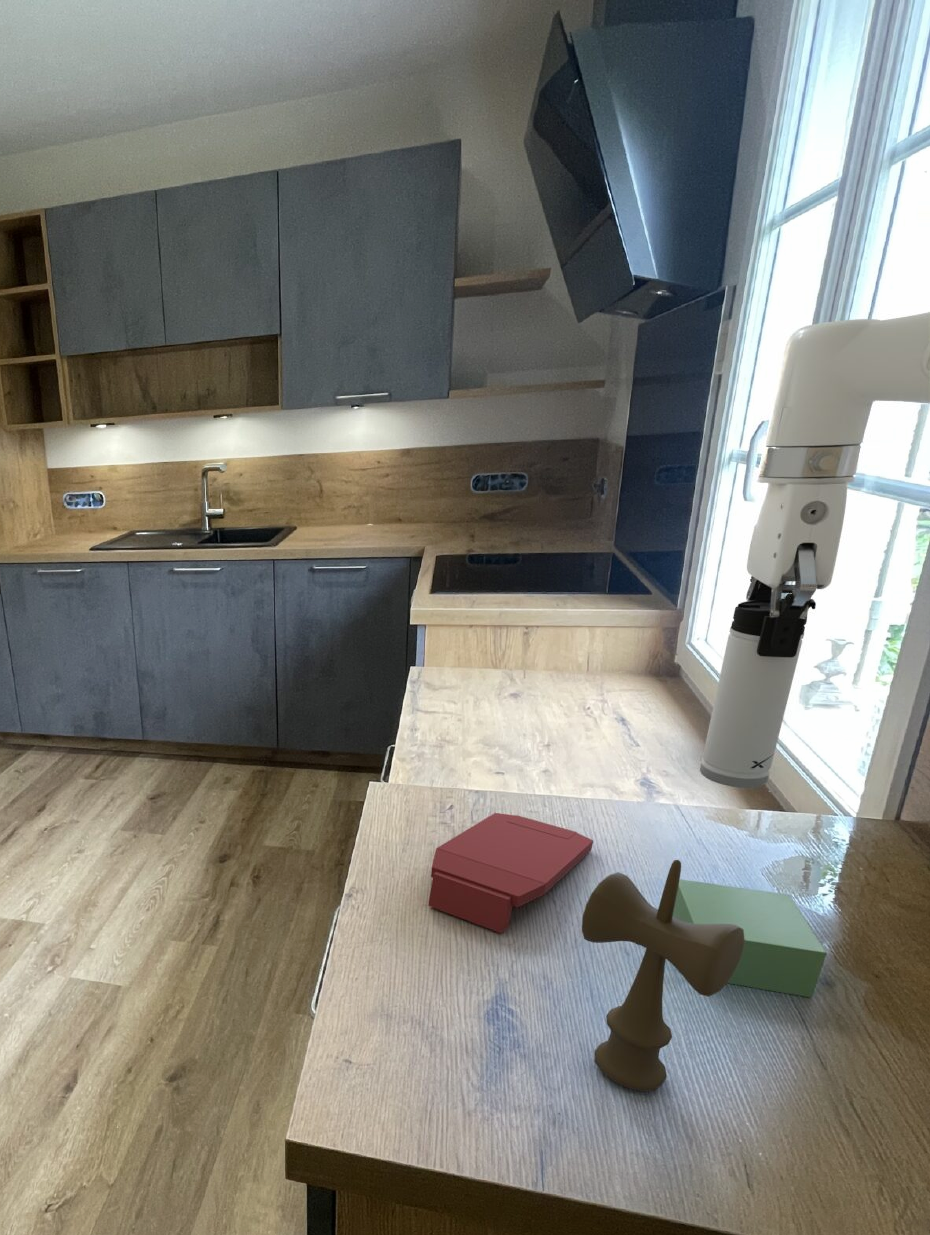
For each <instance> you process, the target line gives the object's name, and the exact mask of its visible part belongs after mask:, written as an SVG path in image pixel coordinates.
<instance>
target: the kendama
mask: <svg viewBox="0 0 930 1235" xmlns="http://www.w3.org/2000/svg"><path fill="white" fill-rule="evenodd" d="M681 873H682V862H681V860H679V859H674V860H673V861H672V863H671V865H670V867H669V870H668V874H667V877H666V880H665V883H664V887H663V890H662V894H661V897H660V901H659V904H658V908H655V907H654V906H652V905H651V903H650V902H648V900H647V899H646V898H645V897H644V896H643V894H642V892H641V891H640V890H639V888H638V887H637V886H636V884H635V883H634V882H633V880H632V879H631V878H630V877H629V876H628V875H626V874H624V873H623V872H619V871H617V872H614V873H611V874H609V875H607V876H606V877H605V878H604V879H602V880H601V881H600V882H599V883H598V884H597V885H596V887H595V888H594V889H593V891H592V892H591V894H590V896H589V898H588V900H587V902H586V904H585V907H584V911H583V914H582V918H581V919H582V920H581V933H582V937H583V939H584V940H585V941H587V942H589V943H593V944H594V943H595V944H601V943H603V944H604V943H616V942H630V943H634V944H635V945H637V946H641V947H643V948H645V952H644V954H643V958H642V960H641V963H640V965H639V967H638V971H637V973H636V975H635V978H634V980H633V983H632V985H631V987H630V989H629V991H628V993H627V996H626V998H625V999H624V1001H623V1002H622V1005H618V1006H615V1007H613V1008H611V1009H610V1010H609V1011H608V1013H607V1014H606V1016H605V1018H606V1025H607V1027H608V1028H609V1030H610V1033H609V1037H608V1039H607V1040H606V1041H603V1042H601V1043H600V1044H599V1045H598V1046H597V1048H596V1049H595V1050H594V1053H593V1054H594V1063H595V1065H596V1066H597V1067H598V1068H599V1070H600V1071H601V1072H602V1073H603V1074H604V1075H606V1077H608V1078H609V1079H610V1080H612V1081H613V1082H615V1083H617V1084H619V1085H620V1086H623V1087H625V1088H628V1089H631V1090H636V1091H640V1092H642V1091H643V1092H645V1091H654V1090H657V1089H658V1088H660V1087H662V1086H663V1084H664V1083H665V1081H666V1079H667V1076H668V1075H667V1068H666V1066H665V1064H664V1063H663V1062H662V1061H661V1059H660V1058H659V1057H660V1051H661V1049H662V1048H664V1047H666V1046H668V1045H669V1044H670V1042H671V1040H672V1038H673V1034H672V1030H671V1028H670V1026H668V1024H666V1022H665V1020H664V1016H663V999H664V998H663V994H664V980H665V967H666V960H667V961H668V962H669V963H670V964H672V966H673V967H675V969H676V970H677V971H678V972H679V973H680V974H681V976H682V977H683V978H684V979H685V981H686V982H687V983H688V984H689V986H690V987H691V988H692V989H693V990H694V991H695V992H696V993H697V994H699V995H700V996H704V997H711V996H713V995H716V994H717V993H719V992H720V991H721V990H723V988H724V987H725V986H726V985H727V984H728V983H727V982H728V980H729V979H730V978H731V976H732V975H733V973H734V971H735V969H736V967H737V965H738V963H739V960H740V957H741V955H742V952H743V947H744V942H745V940H744V931H743V929H742V928H740V927H739V926H737V925H733V924H692V923H688V922H685V921H681V920H679V919H676V918H674V917H673V912H674V907H675V901H676V896H677V891H678V885H679V880H680V879H681Z"/></svg>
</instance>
